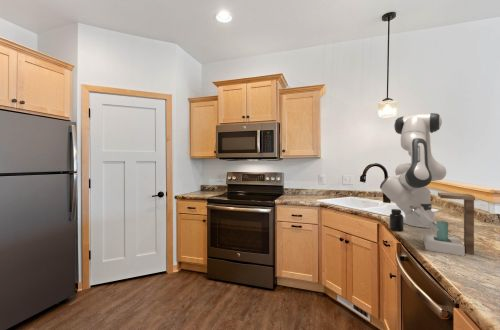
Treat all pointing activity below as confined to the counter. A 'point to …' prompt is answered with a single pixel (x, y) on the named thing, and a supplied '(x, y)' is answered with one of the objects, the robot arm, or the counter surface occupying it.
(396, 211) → the supplement bottle
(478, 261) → the counter surface
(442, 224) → the peg
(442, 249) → the socket
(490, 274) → the counter surface
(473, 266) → the counter surface
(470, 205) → the brown wooden overhang stand
